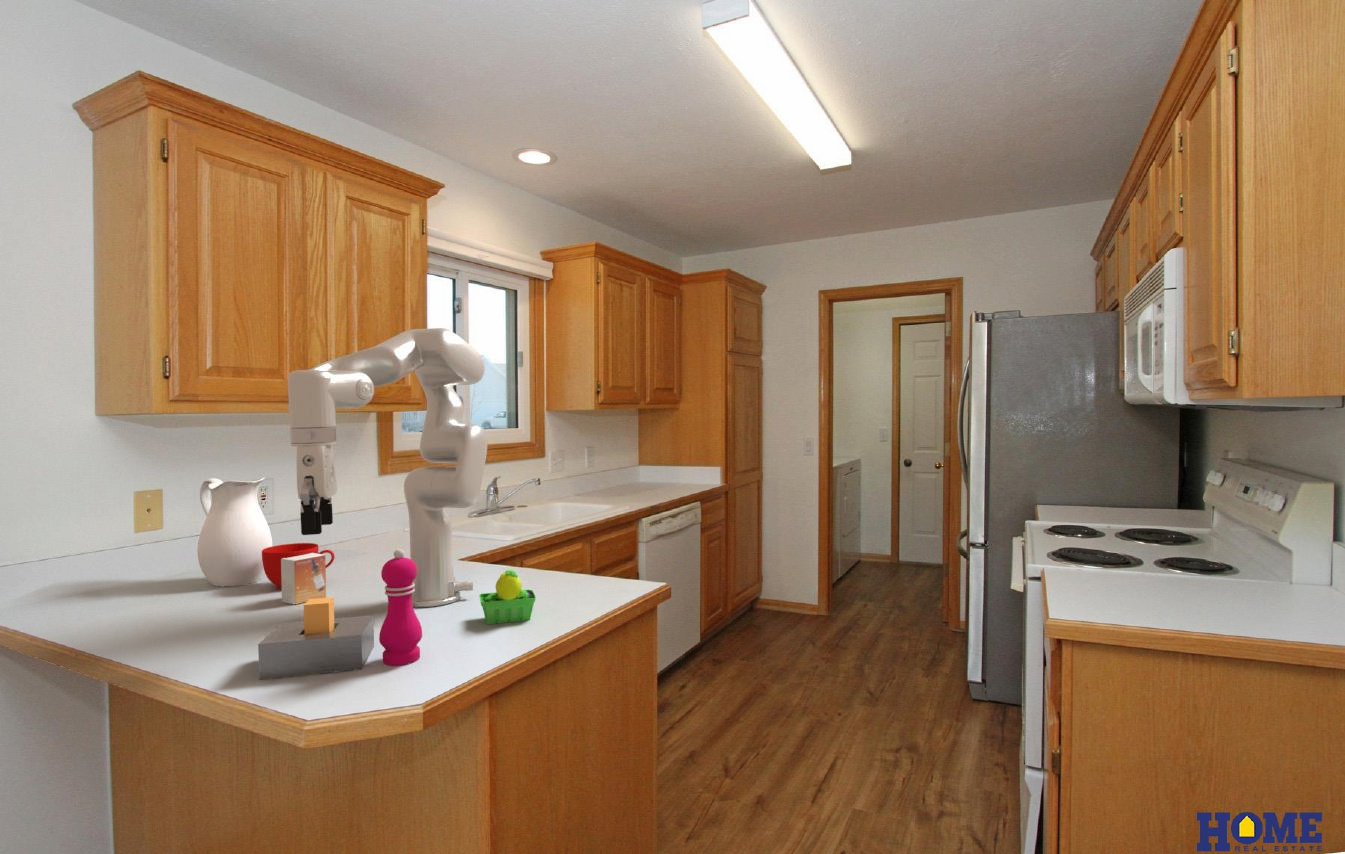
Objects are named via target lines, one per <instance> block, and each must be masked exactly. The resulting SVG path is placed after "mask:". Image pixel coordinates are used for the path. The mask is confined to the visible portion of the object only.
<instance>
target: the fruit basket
mask: <svg viewBox="0 0 1345 854" xmlns="http://www.w3.org/2000/svg"><path fill="white" fill-rule="evenodd" d="M478 597H479V600H480V606H481V607H482V610H483V613H484V620H485V623H486V625H492V624H493V625H494V624H504V623H503V622H506V623H513V622H512V621H516V622H521V621H522V622H525V621H530V620H531V617H532V613H533V610H534V609H533V608H534V604H535V602H536V599H537V597H536V595H535V592H534V590H532V589H523V588H522V581H521V579H520V577H519V575H518V574H517V572H516V571H514V570H513V569H507V570H505V572H503V573H501V574H500V576H499V578H498V579H497V580H496V583H495V592H486V593H480V594H478ZM508 621H509V622H508Z"/></svg>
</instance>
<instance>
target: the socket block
mask: <svg viewBox="0 0 1345 854" xmlns="http://www.w3.org/2000/svg"><path fill="white" fill-rule="evenodd" d="M374 620H375V619H374V615H362V616H361V615H359V616H349V617H338V618H337V617H336V618H335V617H334V631H333V632H327V633H316V634H304V620H301V621H300V620H299V621H289V622H279V623H278V624H277V625H276V626H275V627H274V628H273V629H272V630H271V631H270V632H269V633H268V634H267V635H266V636H265V637H264V638H262V640H261V641H260V642H259V643H258V645H257V648H258V649H257V650H258V678H259V679H258V680H260V681H261V680H270V679H278V678H279V677H281V678H289V677H299V676H301V677H302V676H310V675H309V674H311V675H319V674H320V675H321V674H329V672H330V673H339V672H348V671H358V670H363V669H364V667H365V665H366V663H367V661H368V659H369V658H368V657H370V655H371V653H372V652H373V650H374V648H375V630H374V628H375V627H374V625H375V623H374ZM371 651H372V652H371ZM279 679H280V678H279Z"/></svg>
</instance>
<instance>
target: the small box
mask: <svg viewBox="0 0 1345 854" xmlns="http://www.w3.org/2000/svg"><path fill="white" fill-rule="evenodd" d="M326 562H327V561H326V555H325V554H324V553H323V554H317V553H310V554H305V555H300V556H295V557H290V558H282V559H281V578H282V589H281V602H282V603H285V604H289V605H294V606H296V605H299V604H302V603H306V602H307V601H308V600H309V599H317V598H327V572H326V571H327V570H326V569H327V568H326V565H327V564H326ZM295 604H296V605H295Z"/></svg>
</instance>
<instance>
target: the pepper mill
mask: <svg viewBox="0 0 1345 854" xmlns="http://www.w3.org/2000/svg"><path fill="white" fill-rule="evenodd" d="M393 556H394V558H391V559H389V560H387V561H386V562H385V563H384V565H383V566H382V569H381V579H382V581H383V582H384V584H386V585H385V587H384V590H385V591H384V595H385V596H387V611H386V615H385V618H384V620H383V622H382V625H381V627H380V629H379V631H380V632H379V636H378V638H379V640H378V641H379V643H380V645H381V646H382V647H383V648H384V650H383V652H382V663H383V664H384V665H386V666H390V667H391V666H392V667H397V666H398V667H399V665H400V666H405V664H406V665H409V664H408V663H410V664H412V662H413V663H414V661H415V662H417V661H418V660H419V659H420V658H421V648H420V646H418V644H419V643H420V641H421V640H422V638H423V628H422V625H421V622H420V620H419V618H418V616H417V614H416V611H415V609H414V606H413V605H412V593H413V592H414V591H415V589H414V586H415V584H414V583H412V582H413V580H414V579H415V578H416V576H417V567H416V564H415V563H414V561H412V560H411V559H410V557H409V558H408V557H405V551H404V550H403V549H401V548H397V549H395V550H394V551H393ZM416 660H417V661H416Z"/></svg>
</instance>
